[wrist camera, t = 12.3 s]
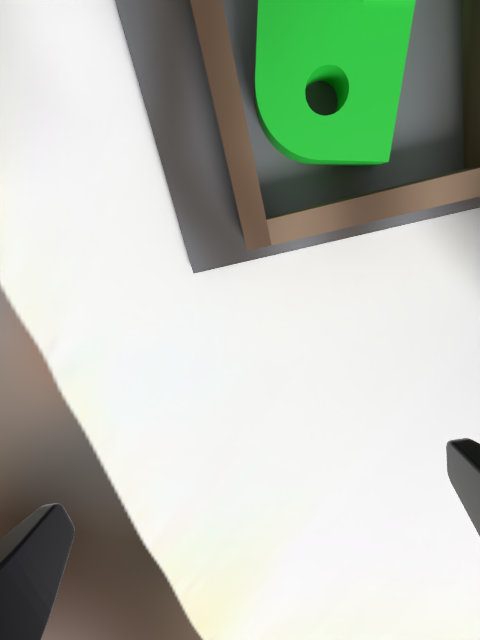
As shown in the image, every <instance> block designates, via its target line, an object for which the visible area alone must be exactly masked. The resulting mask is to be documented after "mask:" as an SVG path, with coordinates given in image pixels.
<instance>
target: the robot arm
mask: <svg viewBox="0 0 480 640" xmlns="http://www.w3.org/2000/svg"><path fill="white" fill-rule="evenodd" d="M446 450H447V472H448V476H449V479H450V481H451V483H452V485H453V487H454V489H455V491H456V493H457V495H458V496H459V498H460V500H461V502H462V504H463V506H464V508H465V510H466V511H467V513H468V515H469V517H470V519H471V521H472V523H473V525H474V526H475V528H476V530H477V532H478V534H479V536H480V444H479V443H477V442H475V441H473V440H471V439H468V438H463V439H457V440H451V441H449V442H448V443H447V446H446ZM74 533H75V529H74V526H73V523H72V521H71V520H70V518H69V516H68V514H67V513H66V510H65V509H64V507H63V506H62V505H61V504H60V503H54V504H47V505H43V506H41V507H40V508H38V509H37V510H36V511H35V512H34V513H32V514H31V515H30V516H29V517H28V518H26V519H25V520H24V521H22V522H21V523H20V524H19V525H18V526H16V527H15V528H14V529H13V530H11V531H10V532H9V533H8V534H6V535H5V536H4V537H3V538H2V539H0V640H41V638H42V636H43V633H44V631H45V628H46V625H47V623H48V620H49V617H50V614H51V612H52V608H53V605H54V602H55V599H56V596H57V593H58V589H59V586H60V582H61V579H62V576H63V572H64V569H65V566H66V562H67V559H68V556H69V553H70V549H71V546H72V543H73V539H74Z"/></svg>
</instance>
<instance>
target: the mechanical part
mask: <svg viewBox="0 0 480 640" xmlns="http://www.w3.org/2000/svg"><path fill="white" fill-rule="evenodd" d="M415 2H416V0H258V17H257V43H256V69H255V105H256V112H257V116H258V120H259V123H260V125H261V128H262V130H263V132H264V134H265V136H266V137H267V139H268V140H269V142H270V143H271V144H272V145H273V146H274V147H275V148H276V149H277V150H278V151H279V152H280V153H281V154H283V155H284V156H286V157H288V158H289V159H292V160H294V161H297V162H300V163H304V164H314V165H349V166H376V165H379V164H383V163H386V162H389V157H390V151H391V145H392V139H393V133H394V127H395V121H396V115H397V109H398V103H399V97H400V91H401V85H402V79H403V73H404V67H405V61H406V55H407V49H408V43H409V37H410V31H411V25H412V19H413V13H414V7H415ZM316 81H324V82H327V83H329V84H330V85H331V86H332V87H333V88H334V89H335V91H336V94H337V99H338V104H337V109H336V112H335V113H334V114H331V115H327V116H323V115H319V114H317V113H315V112H314V111H312V110H311V108H310V107H309V105H308V103H307V101H306V96H305V89H306V87H307V86H308V85H309V84H311V83H313V82H316Z"/></svg>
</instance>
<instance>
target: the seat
mask: <svg viewBox="0 0 480 640" xmlns="http://www.w3.org/2000/svg"><path fill="white" fill-rule="evenodd" d="M115 1H116V5H117V8H118V12H119V15H120V19H121V22H122V26H123V29H124V33H125V36H126V40H127V43H128V47H129V50H130V54H131V57H132V61H133V64H134V68H135V71H136V75H137V78H138V81H139V85H140V88H141V92H142V95H143V99H144V102H145V106H146V109H147V113H148V116H149V120H150V123H151V127H152V130H153V134H154V137H155V141H156V144H157V148H158V151H159V155H160V158H161V162H162V165H163V169H164V172H165V176H166V179H167V183H168V186H169V190H170V193H171V197H172V200H173V203H174V207H175V210H176V214H177V217H178V221H179V224H180V228H181V231H182V235H183V238H184V242H185V245H186V249H187V252H188V256H189V259H190V263H191V266H192V270H193V273H198V272H202V271H206V270H211V269H215V268H219V267H224V266H228V265H232V264H237V263H241V262H245V261H250V260H254V259H258V258H263V257H267V256H271V255H275V254H280V253H284V252H288V251H293V250H297V249H301V248H306V247H310V246H314V245H319V244H323V243H327V242H332V241H336V240H340V239H345V238H349V237H353V236H358V235H362V234H366V233H371V232H375V231H379V230H384V229H388V228H392V227H397V226H401V225H405V224H409V223H414V222H418V221H422V220H427V219H431V218H435V217H440V216H444V215H448V214H453V213H457V212H461V211H466V210H470V209H474V208H479V207H480V0H416V2H415V7H414V13H413V19H412V25H411V31H410V37H409V43H408V49H407V55H406V61H405V67H404V73H403V79H402V85H401V91H400V97H399V103H398V109H397V115H396V121H395V127H394V133H393V139H392V145H391V151H390V157H389V162H386V163H383V164H379V165H376V166H349V165H314V164H304V163H300V162H297V161H294V160H292V159H289V158H288V157H286V156H284V155H283V154H281V153H280V152H279V151H278V150H277V149H276V148H275V147H274V146H273V145H272V144H271V143H270V142H269V140H268V139H267V137H266V136H265V134H264V132H263V130H262V128H261V125H260V123H259V120H258V116H257V112H256V105H255V69H256V43H257V17H258V0H115ZM305 96H306V101H307V103H308V105H309V107H310V108H311V110H312V111H314V112H315V113H317V114H319V115H323V116H327V115H331V114H334V113H335V112H336V109H337V104H338V99H337V94H336V91H335V89H334V88H333V87H332V86H331V85H330V84H329V83H327V82H324V81H316V82H313V83H311V84H309V85H308V86H307V87H306V89H305Z"/></svg>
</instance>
